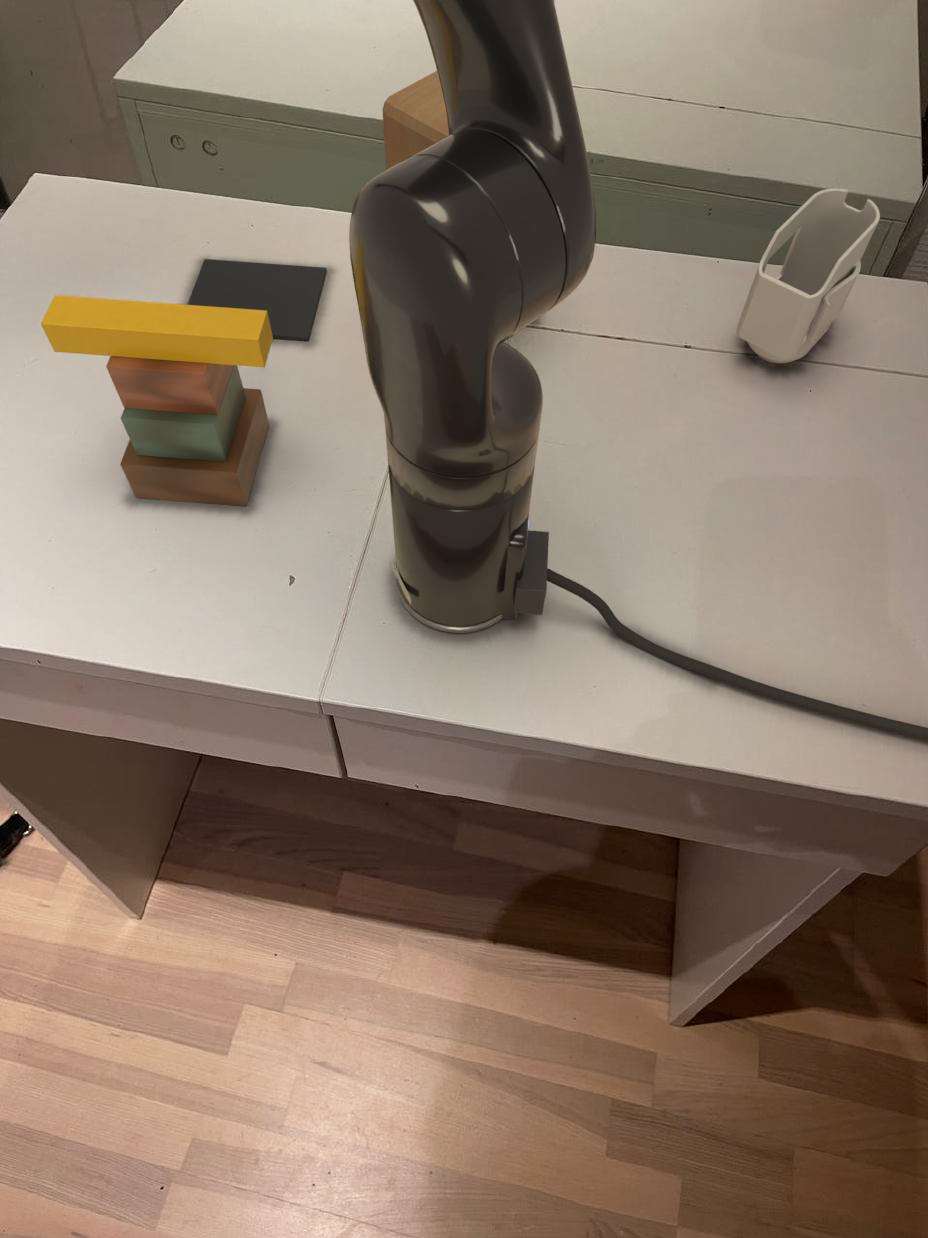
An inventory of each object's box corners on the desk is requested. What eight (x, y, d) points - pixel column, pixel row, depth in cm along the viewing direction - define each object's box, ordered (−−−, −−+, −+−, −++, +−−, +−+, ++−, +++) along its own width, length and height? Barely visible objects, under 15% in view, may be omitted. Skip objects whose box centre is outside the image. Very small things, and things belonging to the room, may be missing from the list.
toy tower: (269, 423, 74) (241, 307, 64) (246, 506, 70) (212, 395, 59) (165, 416, 75) (120, 299, 64) (135, 497, 70) (82, 385, 60)
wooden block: (390, 316, 82) (376, 95, 65) (462, 267, 86) (467, 46, 69) (468, 368, 78) (475, 150, 61) (540, 314, 82) (565, 95, 65)
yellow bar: (273, 338, 62) (267, 309, 60) (265, 367, 61) (258, 339, 59) (67, 323, 63) (54, 294, 61) (54, 352, 61) (40, 323, 59)
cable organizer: (719, 361, 79) (760, 244, 69) (785, 293, 84) (832, 174, 74) (784, 395, 77) (836, 280, 67) (848, 323, 82) (905, 205, 72)
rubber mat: (326, 270, 85) (326, 267, 85) (308, 341, 80) (308, 337, 79) (205, 262, 85) (204, 258, 85) (179, 331, 80) (178, 327, 80)
